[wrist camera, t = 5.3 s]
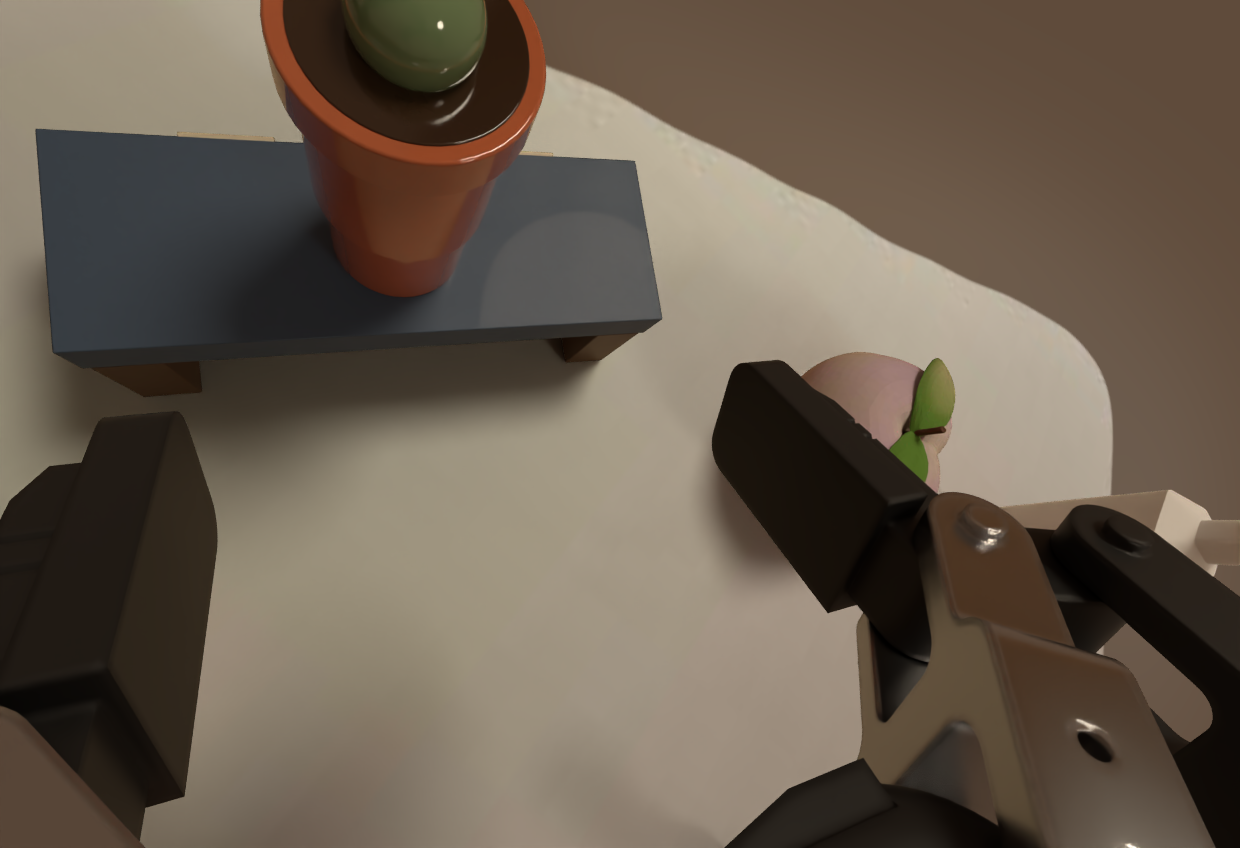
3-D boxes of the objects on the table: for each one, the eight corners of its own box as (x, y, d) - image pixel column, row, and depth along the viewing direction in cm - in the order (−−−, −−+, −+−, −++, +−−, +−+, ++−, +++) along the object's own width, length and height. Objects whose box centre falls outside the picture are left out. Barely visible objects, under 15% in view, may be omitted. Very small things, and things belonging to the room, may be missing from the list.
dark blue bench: (136, 397, 24) (52, 352, 18) (121, 224, 25) (33, 121, 19) (605, 359, 32) (662, 319, 26) (583, 228, 33) (634, 156, 26)
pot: (303, 304, 21) (220, 54, 10) (316, 148, 22) (254, -245, 11) (475, 324, 23) (571, 136, 12) (481, 180, 24) (575, -119, 13)
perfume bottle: (962, 588, 39) (1287, 625, 25) (917, 546, 38) (1227, 560, 24) (988, 529, 40) (1308, 533, 26) (945, 487, 39) (1252, 468, 26)
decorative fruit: (758, 348, 36) (891, 288, 27) (866, 409, 38) (1022, 372, 29) (709, 499, 33) (838, 490, 24) (827, 555, 35) (986, 566, 26)
